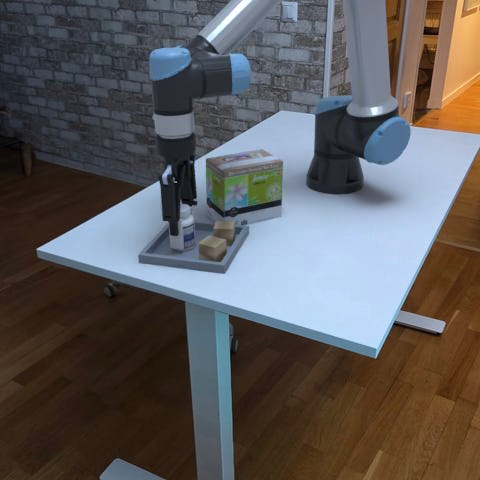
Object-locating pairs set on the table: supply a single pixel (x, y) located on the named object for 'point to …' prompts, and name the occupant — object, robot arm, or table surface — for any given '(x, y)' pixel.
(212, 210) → the tea box
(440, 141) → the table surface
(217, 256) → the oak cube
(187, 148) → the robot arm
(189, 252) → the tray
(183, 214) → the pill bottle
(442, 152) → the table surface
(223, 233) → the oak cube
